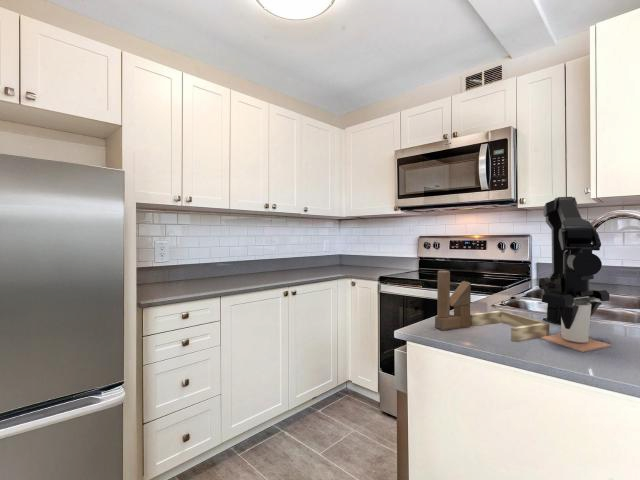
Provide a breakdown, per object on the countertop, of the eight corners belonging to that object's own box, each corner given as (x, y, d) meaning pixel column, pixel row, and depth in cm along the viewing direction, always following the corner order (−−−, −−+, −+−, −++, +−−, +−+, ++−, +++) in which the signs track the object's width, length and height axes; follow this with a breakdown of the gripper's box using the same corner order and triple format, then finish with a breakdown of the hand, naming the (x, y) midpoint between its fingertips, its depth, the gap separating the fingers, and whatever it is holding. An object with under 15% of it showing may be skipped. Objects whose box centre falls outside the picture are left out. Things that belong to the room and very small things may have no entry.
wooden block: (470, 327, 106) (471, 270, 105) (442, 330, 102) (442, 272, 102) (462, 324, 109) (462, 269, 109) (434, 327, 106) (434, 270, 105)
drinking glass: (554, 337, 93) (555, 301, 92) (567, 333, 96) (568, 298, 95) (582, 344, 87) (583, 306, 87) (595, 340, 90) (596, 303, 90)
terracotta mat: (567, 333, 98) (567, 332, 98) (611, 346, 88) (611, 344, 88) (540, 338, 95) (540, 337, 95) (582, 351, 84) (583, 350, 84)
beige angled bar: (501, 320, 112) (501, 310, 112) (549, 335, 97) (549, 323, 97) (469, 325, 108) (469, 314, 108) (514, 341, 92) (514, 328, 92)
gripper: (568, 265, 101) (567, 316, 102) (523, 269, 95) (522, 323, 96) (611, 270, 91) (609, 327, 92) (564, 274, 85) (562, 335, 85)
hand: (574, 327), depth 91 cm, fingers closed on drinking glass, 5 cm apart
